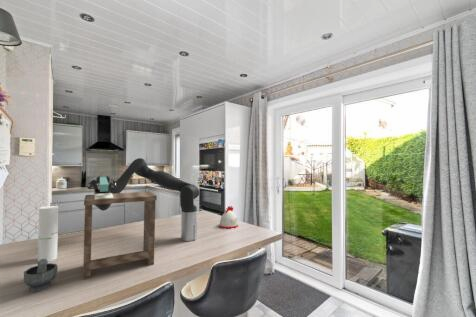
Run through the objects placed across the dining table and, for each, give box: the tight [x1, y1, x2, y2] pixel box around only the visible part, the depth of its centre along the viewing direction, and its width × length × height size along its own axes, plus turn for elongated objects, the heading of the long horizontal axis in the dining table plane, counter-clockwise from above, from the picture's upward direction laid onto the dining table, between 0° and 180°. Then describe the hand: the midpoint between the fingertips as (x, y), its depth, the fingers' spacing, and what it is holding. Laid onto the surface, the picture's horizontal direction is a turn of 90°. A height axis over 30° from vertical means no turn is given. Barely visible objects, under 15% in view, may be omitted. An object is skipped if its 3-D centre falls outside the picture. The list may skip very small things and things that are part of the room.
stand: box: [82, 191, 158, 281], centre depth 105 cm, size 28×16×32 cm, turn 122°
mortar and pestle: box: [23, 259, 58, 293], centre depth 85 cm, size 11×9×12 cm
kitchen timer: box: [219, 205, 239, 230], centre depth 171 cm, size 14×14×15 cm
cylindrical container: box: [37, 205, 59, 263], centre depth 110 cm, size 7×7×25 cm
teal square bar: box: [100, 176, 108, 192], centre depth 107 cm, size 3×26×3 cm, turn 32°
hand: (103, 177), depth 113 cm, fingers closed on teal square bar, 3 cm apart
